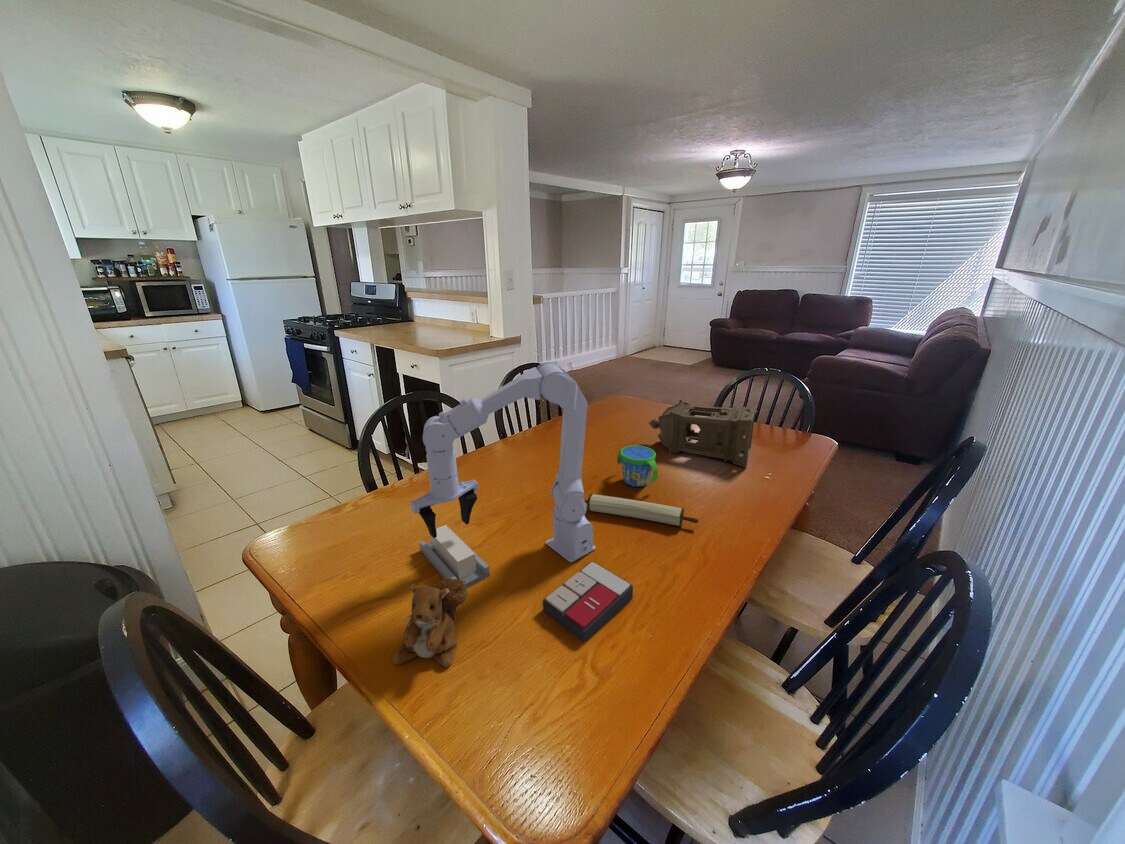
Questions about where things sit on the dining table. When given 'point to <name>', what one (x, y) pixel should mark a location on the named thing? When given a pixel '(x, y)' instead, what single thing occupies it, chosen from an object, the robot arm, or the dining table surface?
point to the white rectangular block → (454, 552)
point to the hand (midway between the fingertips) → (449, 528)
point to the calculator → (588, 600)
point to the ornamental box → (708, 431)
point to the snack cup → (637, 465)
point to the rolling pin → (637, 509)
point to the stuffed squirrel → (433, 622)
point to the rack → (447, 572)
